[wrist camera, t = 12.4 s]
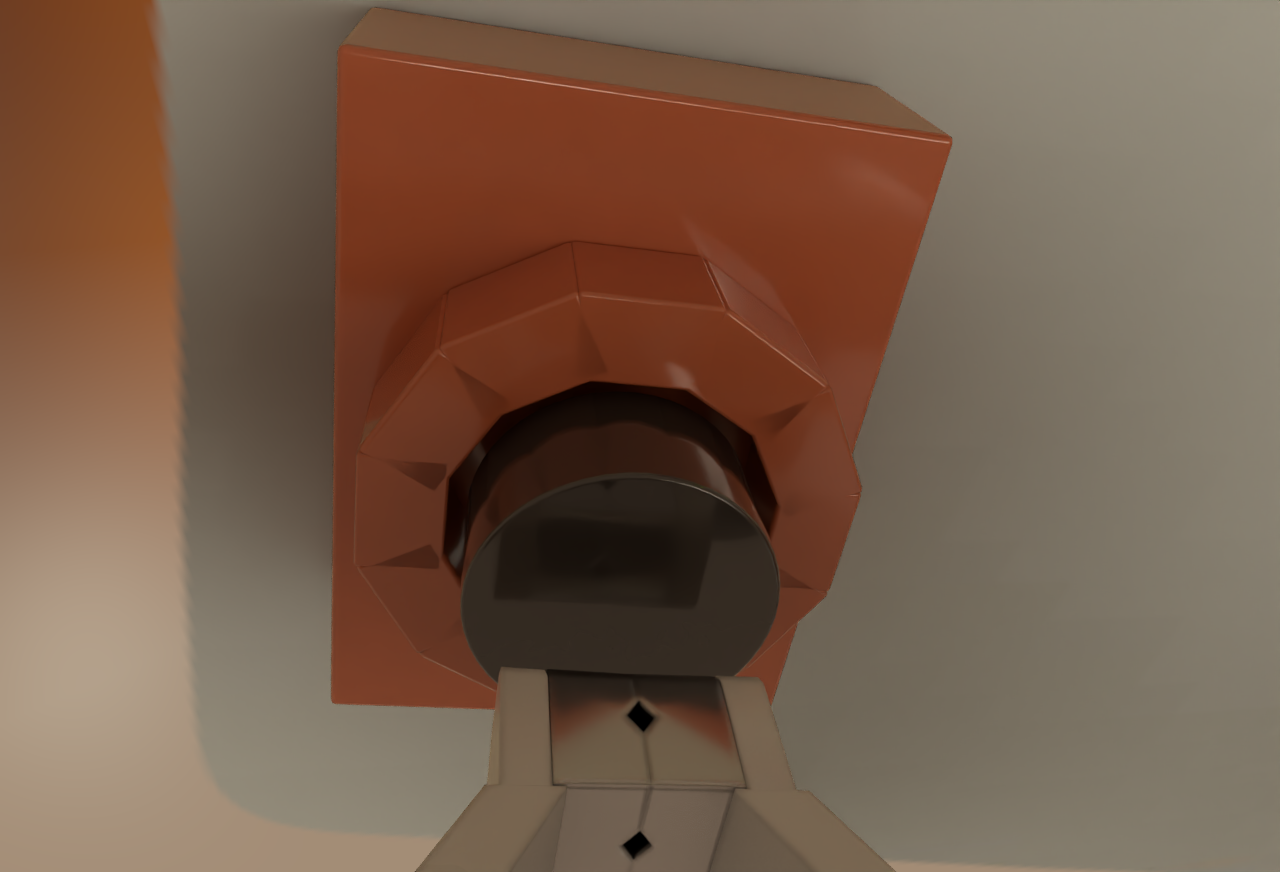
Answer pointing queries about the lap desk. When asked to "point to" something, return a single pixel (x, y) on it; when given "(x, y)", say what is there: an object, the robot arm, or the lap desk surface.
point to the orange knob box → (594, 298)
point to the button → (615, 544)
